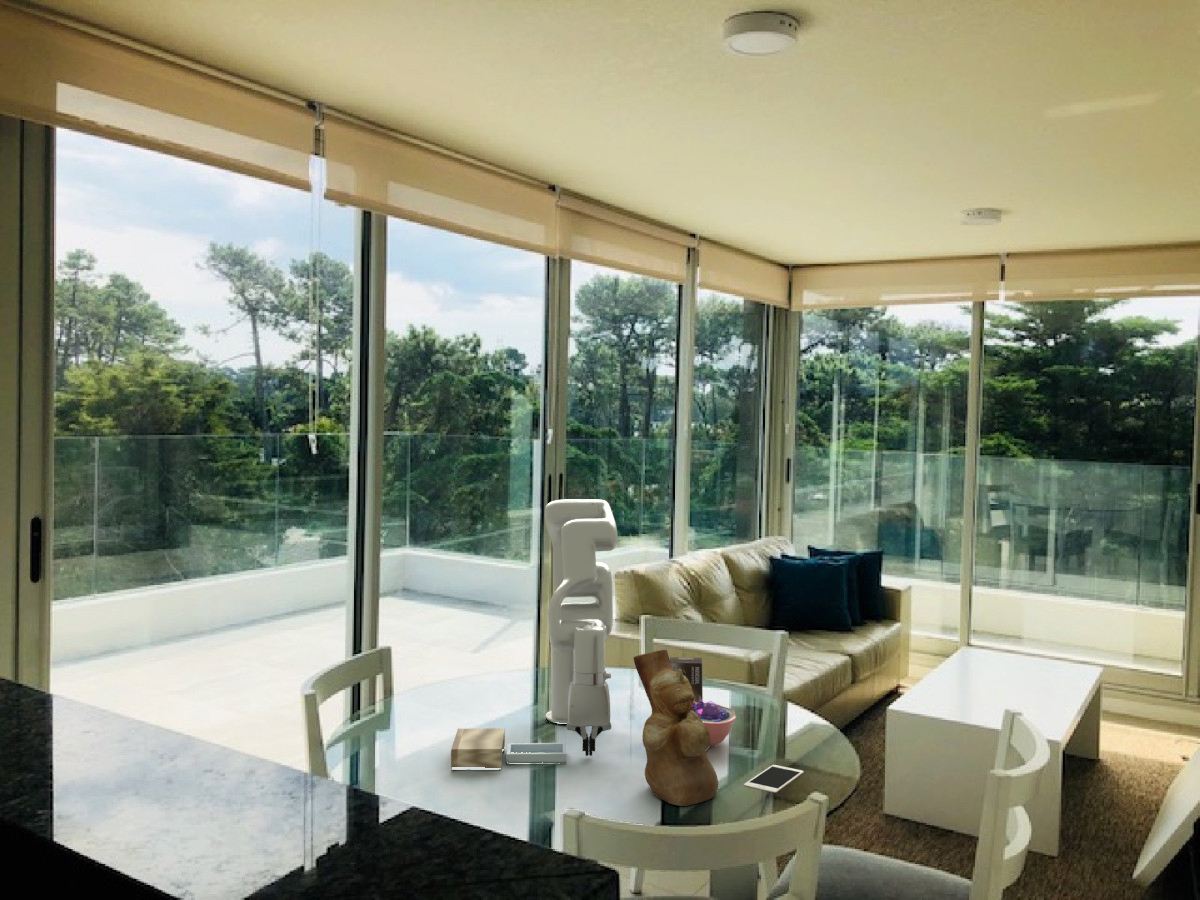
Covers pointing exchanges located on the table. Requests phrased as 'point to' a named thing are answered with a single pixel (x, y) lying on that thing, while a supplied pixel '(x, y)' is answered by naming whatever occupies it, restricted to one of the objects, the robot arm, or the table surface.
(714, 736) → the cell model
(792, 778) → the cell phone
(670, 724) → the ceramic vessel
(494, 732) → the wooden block
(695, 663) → the coffee box
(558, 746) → the grey shallow tray
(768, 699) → the table surface
